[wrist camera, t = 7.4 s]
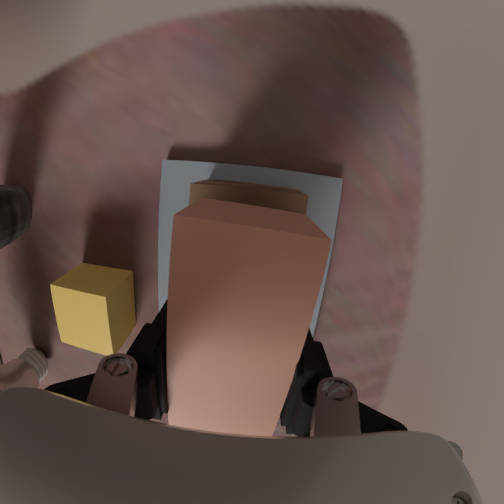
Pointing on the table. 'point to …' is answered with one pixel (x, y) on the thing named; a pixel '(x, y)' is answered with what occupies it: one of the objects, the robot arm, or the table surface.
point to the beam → (238, 312)
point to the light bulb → (24, 370)
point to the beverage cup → (13, 213)
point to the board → (185, 172)
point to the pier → (250, 194)
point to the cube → (95, 307)
